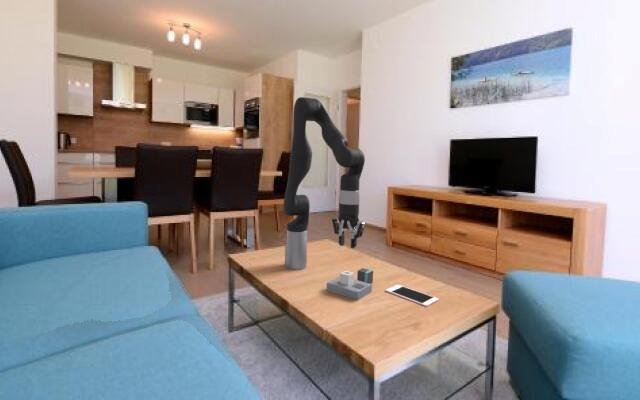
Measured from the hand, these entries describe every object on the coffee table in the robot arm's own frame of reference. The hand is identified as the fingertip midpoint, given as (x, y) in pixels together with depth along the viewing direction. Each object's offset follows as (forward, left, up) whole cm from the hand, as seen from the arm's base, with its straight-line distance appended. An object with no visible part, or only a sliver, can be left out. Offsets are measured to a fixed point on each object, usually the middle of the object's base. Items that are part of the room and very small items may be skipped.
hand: (347, 246), depth 131 cm
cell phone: (+22, +12, -18) cm, 30 cm away
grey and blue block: (+2, +12, -17) cm, 21 cm away
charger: (0, 0, -17) cm, 17 cm away
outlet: (+2, 0, -17) cm, 17 cm away
